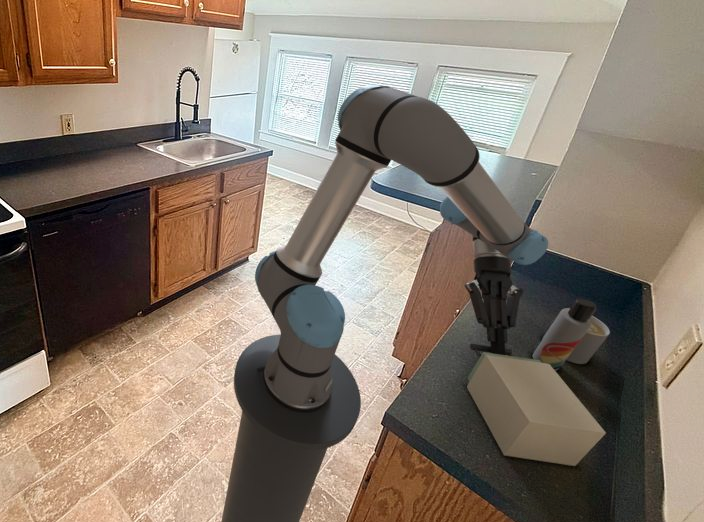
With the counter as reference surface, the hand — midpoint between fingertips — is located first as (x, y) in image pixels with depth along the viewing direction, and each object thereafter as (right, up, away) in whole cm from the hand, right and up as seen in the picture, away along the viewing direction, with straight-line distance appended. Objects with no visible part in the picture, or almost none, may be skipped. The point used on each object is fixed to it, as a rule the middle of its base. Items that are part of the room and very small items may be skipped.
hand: (498, 357), depth 88 cm
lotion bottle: (+18, -5, +9) cm, 21 cm away
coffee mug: (+29, -3, +15) cm, 33 cm away
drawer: (-1, -8, -3) cm, 9 cm away
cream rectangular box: (-2, -11, -8) cm, 14 cm away
